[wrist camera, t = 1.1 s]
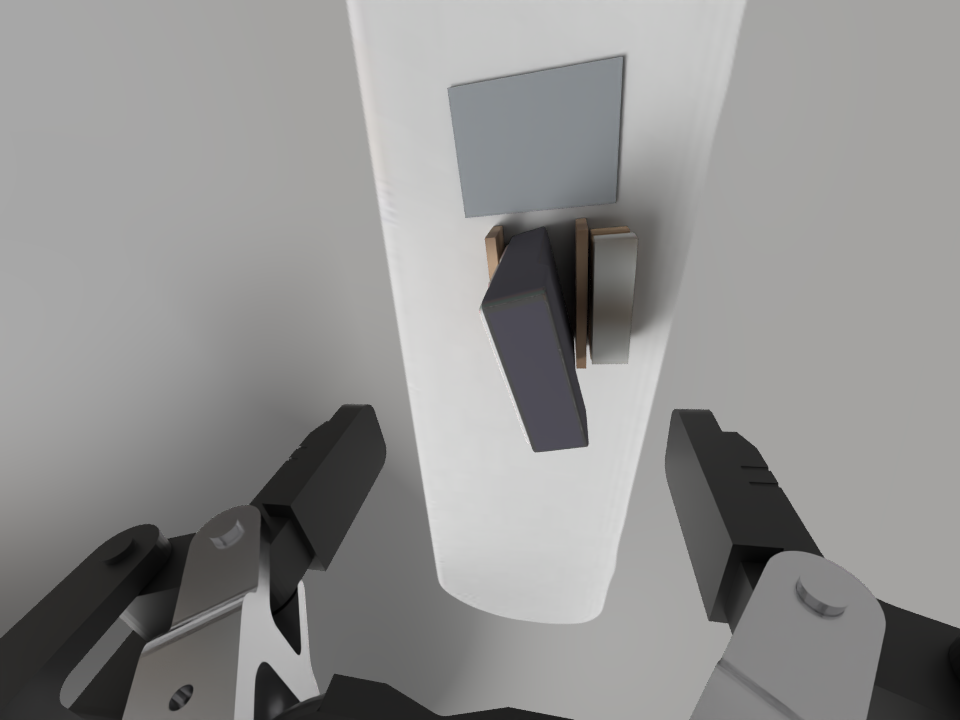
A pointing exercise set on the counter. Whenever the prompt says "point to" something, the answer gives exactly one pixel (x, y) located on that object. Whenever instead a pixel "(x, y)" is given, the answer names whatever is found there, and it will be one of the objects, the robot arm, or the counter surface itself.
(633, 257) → the offcut stack
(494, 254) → the rack
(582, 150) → the slate mat
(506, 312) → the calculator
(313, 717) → the robot arm
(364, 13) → the counter surface
